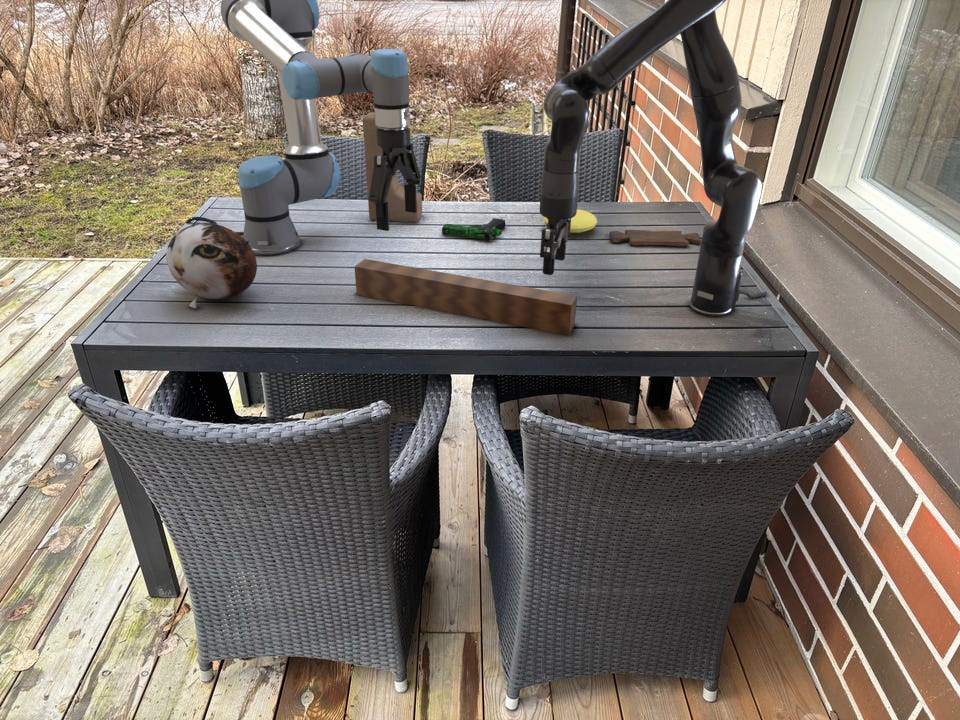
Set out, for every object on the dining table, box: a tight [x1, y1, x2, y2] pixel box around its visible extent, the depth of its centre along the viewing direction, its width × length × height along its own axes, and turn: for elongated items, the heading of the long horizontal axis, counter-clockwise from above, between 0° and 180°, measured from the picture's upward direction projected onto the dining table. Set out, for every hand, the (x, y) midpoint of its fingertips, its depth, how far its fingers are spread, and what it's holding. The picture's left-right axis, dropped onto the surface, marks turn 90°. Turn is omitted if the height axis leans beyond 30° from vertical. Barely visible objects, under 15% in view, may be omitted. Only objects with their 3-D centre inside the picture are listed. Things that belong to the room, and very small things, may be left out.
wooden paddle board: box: [608, 229, 701, 247], centre depth 204 cm, size 26×2×10 cm
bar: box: [353, 258, 578, 336], centre depth 163 cm, size 52×5×7 cm, turn 69°
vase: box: [543, 208, 598, 234], centre depth 209 cm, size 16×16×7 cm
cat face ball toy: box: [165, 222, 258, 309], centre depth 165 cm, size 22×18×20 cm
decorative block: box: [362, 111, 423, 223], centre depth 209 cm, size 8×15×30 cm, turn 82°
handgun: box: [441, 217, 506, 242], centre depth 207 cm, size 16×3×15 cm
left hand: (397, 220), depth 166 cm, fingers open, 13 cm apart
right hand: (553, 266), depth 151 cm, fingers open, 8 cm apart
